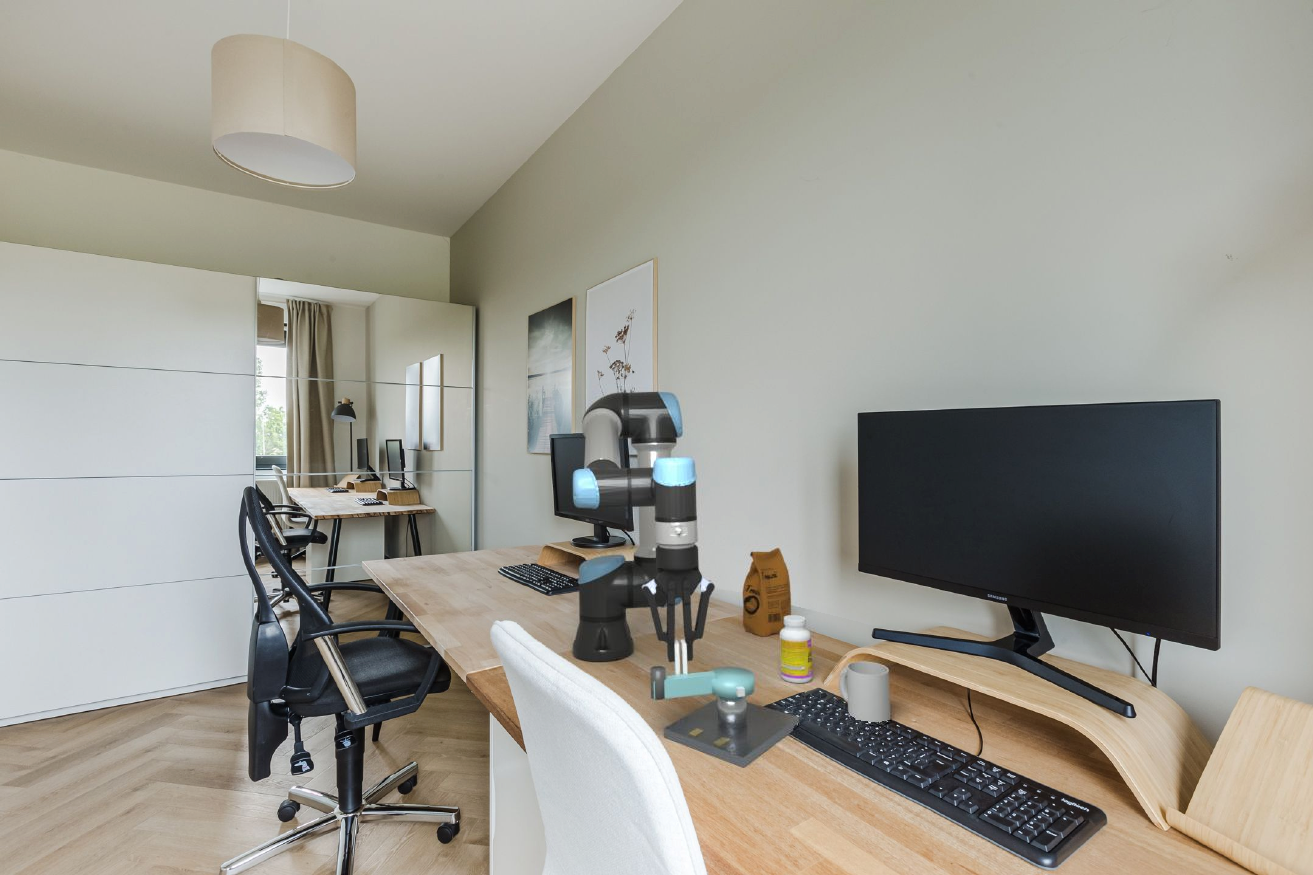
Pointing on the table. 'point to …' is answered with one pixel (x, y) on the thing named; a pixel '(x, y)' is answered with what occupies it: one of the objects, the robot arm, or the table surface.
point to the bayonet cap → (702, 683)
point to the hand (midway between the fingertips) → (680, 679)
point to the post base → (732, 729)
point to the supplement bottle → (795, 650)
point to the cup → (866, 690)
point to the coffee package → (766, 594)
